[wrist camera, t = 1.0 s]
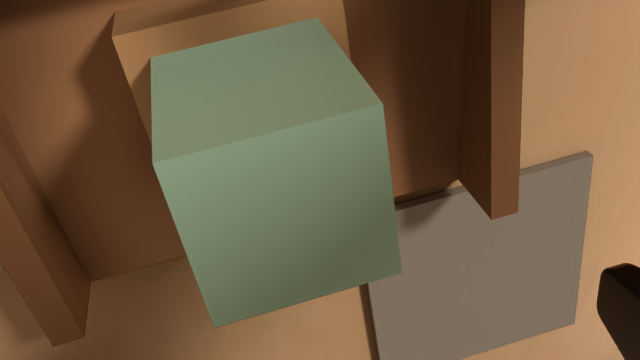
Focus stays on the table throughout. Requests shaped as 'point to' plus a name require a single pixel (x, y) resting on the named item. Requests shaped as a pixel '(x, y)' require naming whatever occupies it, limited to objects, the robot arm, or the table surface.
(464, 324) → the pad
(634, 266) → the robot arm
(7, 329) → the table surface
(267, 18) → the caddy
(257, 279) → the teal block
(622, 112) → the table surface
